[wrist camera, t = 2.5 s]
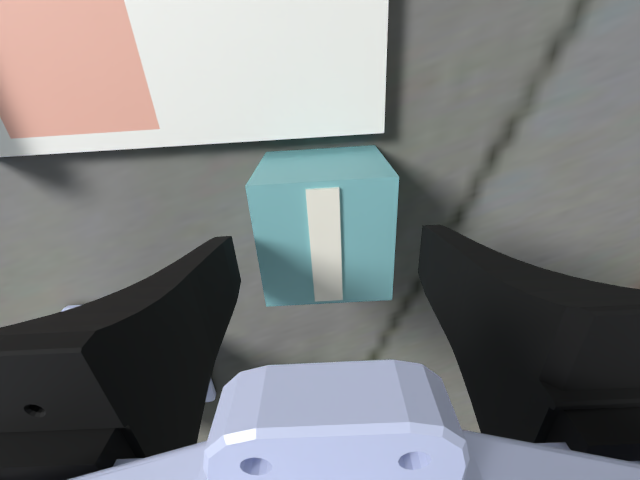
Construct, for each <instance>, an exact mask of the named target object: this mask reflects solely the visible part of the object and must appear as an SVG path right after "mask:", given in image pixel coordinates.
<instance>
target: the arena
mask: <svg viewBox="0 0 640 480" xmlns="http://www.w3.org/2000/svg"><path fill="white" fill-rule="evenodd" d="M388 1H389V0H0V157H11V156H27V155H43V154H59V153H75V152H90V151H106V150H122V149H138V148H154V147H170V146H186V145H202V144H217V143H233V142H249V141H265V140H281V139H297V138H313V137H328V136H344V135H360V134H376V133H384V124H385V93H386V62H387V32H388Z"/></svg>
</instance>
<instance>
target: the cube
mask: <svg viewBox="0 0 640 480" xmlns="http://www.w3.org/2000/svg"><path fill="white" fill-rule="evenodd" d="M245 187H246V193H247V199H248V204H249V210H250V216H251V222H252V227H253V233H254V239H255V244H256V250H257V256H258V262H259V267H260V273H261V279H262V285H263V290H264V296H265V302H266V306H285V305H305V304H324V303H343V302H362V301H381V300H392V294H393V277H394V259H395V242H396V224H397V207H398V189H399V176H398V174H397V173H396V172H395V171H394V169H393V168H392V167H391V165H390V164H389V163H388V161H387V160H386V159H385V158H384V156H383V155H382V154H381V152H380V151H379V150H378V149H377V147H376V146H375V145H369V146H353V147H337V148H321V149H305V150H289V151H273V152H266V153H265V155H264V157H263V158H262V160H261V161H260V163H259V165H258V166H257V168H256V169H255V171H254V173H253V174H252V176H251V178H250V179H249V181H248V182H247V184H246V186H245Z"/></svg>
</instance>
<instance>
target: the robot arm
mask: <svg viewBox="0 0 640 480" xmlns="http://www.w3.org/2000/svg"><path fill="white" fill-rule="evenodd" d="M418 273H419V276H420V280H421V283H422V286H423V289H424V292H425V294H426V296H427V298H428V300H429V302H430V304H431V306H432V309H433V311H434V312H435V314H436V316H437V318H438V320H439V322H440V324H441V326H442V328H443V330H444V332H445V334H446V336H447V338H448V340H449V342H450V345H451V347H452V349H453V352H454V354H455V357H456V360H457V362H458V365H459V368H460V371H461V373H462V376H463V379H464V382H465V385H466V388H467V391H468V394H469V397H470V399H471V402H472V406H473V409H474V412H475V415H476V418H477V422H478V425H479V428H480V431H481V433H477V432H472V431H467V430H462V429H461V427H460V424H459V422H458V419H457V417H456V414H455V411H454V409H453V406H452V404H451V401H450V399H449V396H448V394H447V391H446V389H445V386H444V384H443V381H442V379H441V377H440V376H438V375H437V374H435V373H434V372H433V371H431V370H430V369H428V368H427V367H426V366H424V365H423V364H420V363H414V362H407V361H400V360H393V359H388V360H366V361H343V362H321V363H299V364H276V365H266V366H262V367H258V368H253V369H249V370H245V371H242V372H239V373H238V374H237V375H236V376H235V377H234V378H233V379H232V380H230V381H229V382H228V383H227V384H226V385H225V386H224V387H223V390H222V393H221V396H220V400H219V403H218V406H217V410H216V413H215V416H214V420H213V423H212V426H211V430H210V433H209V436H208V440H207V441H204V442H200V443H197V439H198V434H199V429H200V424H201V419H202V414H203V410H204V405H205V402H211V401H214V400H215V397H216V392H215V388H214V385H213V382H212V379H211V375H212V371H213V367H214V363H215V360H216V357H217V354H218V351H219V348H220V345H221V343H222V340H223V338H224V335H225V332H226V330H227V327H228V324H229V322H230V319H231V316H232V314H233V311H234V308H235V305H236V302H237V298H238V294H239V289H240V283H241V278H240V274H239V269H238V264H237V260H236V255H235V250H234V245H233V241H232V236H225V237H215V238H212V239H210V240H209V241H207V242H205V243H204V244H202V245H201V246H199V247H197V248H196V249H194V250H193V251H191V252H190V253H188V254H187V255H185V256H184V257H182V258H180V259H179V260H177V261H176V262H174V263H172V264H171V265H169V266H167V267H165V268H164V269H162V270H160V271H159V272H157V273H155V274H153V275H152V276H150V277H148V278H146V279H144V280H142V281H140V282H138V283H135V284H133V285H131V286H129V287H127V288H125V289H122V290H120V291H117V292H115V293H112V294H110V295H107V296H105V297H103V298H100V299H98V300H95V301H92V302H89V303H86V304H84V305H70V306H66V307H65V308H64V309H63V310H62V311H61V312H59V313H55V314H52V315H48V316H45V317H41V318H37V319H33V320H29V321H25V322H21V323H18V324H14V325H10V326H5V327H1V328H0V480H640V289H633V288H626V287H620V286H615V285H609V284H604V283H599V282H594V281H589V280H585V279H580V278H576V277H572V276H568V275H564V274H561V273H557V272H553V271H550V270H546V269H543V268H540V267H537V266H534V265H531V264H528V263H525V262H522V261H519V260H516V259H514V258H511V257H509V256H506V255H504V254H502V253H499V252H497V251H495V250H492V249H490V248H488V247H486V246H484V245H481V244H479V243H477V242H475V241H473V240H471V239H469V238H467V237H465V236H463V235H461V234H459V233H457V232H455V231H453V230H451V229H449V228H447V227H444V226H442V225H425V226H423V228H422V238H421V248H420V258H419V268H418Z"/></svg>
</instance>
